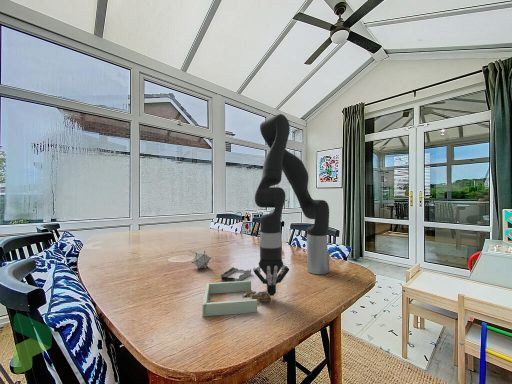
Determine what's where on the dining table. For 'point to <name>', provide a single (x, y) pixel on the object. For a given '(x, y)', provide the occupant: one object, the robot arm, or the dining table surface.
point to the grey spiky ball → (201, 260)
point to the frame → (228, 306)
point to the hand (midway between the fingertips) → (271, 294)
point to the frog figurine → (258, 296)
